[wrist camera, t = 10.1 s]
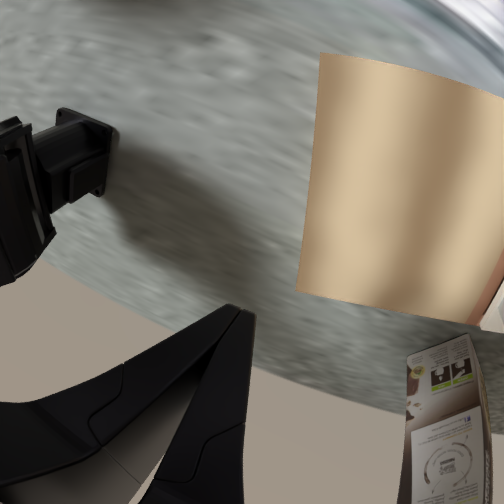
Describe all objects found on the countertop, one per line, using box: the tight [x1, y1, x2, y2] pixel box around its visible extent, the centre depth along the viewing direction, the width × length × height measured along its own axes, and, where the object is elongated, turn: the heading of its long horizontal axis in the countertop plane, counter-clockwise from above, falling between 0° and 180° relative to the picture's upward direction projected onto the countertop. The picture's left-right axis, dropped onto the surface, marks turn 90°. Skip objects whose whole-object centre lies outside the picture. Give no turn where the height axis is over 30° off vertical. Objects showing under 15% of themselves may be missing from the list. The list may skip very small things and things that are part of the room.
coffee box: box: [397, 334, 493, 504], centre depth 17 cm, size 9×6×16 cm
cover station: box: [295, 53, 504, 326], centre depth 14 cm, size 24×14×3 cm, turn 88°
